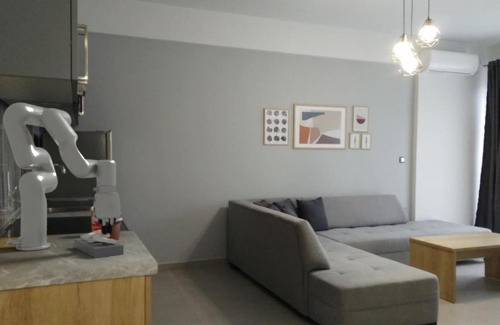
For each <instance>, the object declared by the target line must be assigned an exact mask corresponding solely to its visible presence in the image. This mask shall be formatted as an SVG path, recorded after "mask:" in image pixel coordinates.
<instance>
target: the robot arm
mask: <svg viewBox="0 0 500 325" xmlns="http://www.w3.org/2000/svg"><path fill="white" fill-rule="evenodd" d="M2 124H3V127H4V131H5V134H6V135H7V139H8V142H9V145H10V148H11V153H12V155H13V157H14V161H15V164H16V165H17V167H18V168H20V169H22V170H31V171H28V172H25V173H24V174H23V175H22V176H21V177H20V178H19V182H18V188H19V194H20V236H19V237H18V238H16V239H9V240H7V241H6V245H7V246H15V248H16V250H18V251H24V252H25V251H39V250H40V251H41V250H45V249H48V248H50V247H51V243H50V242H47V236H48V234H47V231H48V228H47V225H48V223H47V222H48V220H47V219H48V203H47V198H46V194H48V193H51V192H53V191H54V190H56V188H57V186H58V183H59V182H58V176H57V172H56V169H55V166H54V164H53V160H52V156H51V155H50V153H49V152H48V151H47V150H46V149H44V148H43V147H40V146H39V147H37V146H36V145H35V142H34V140H33V136H32V134H31V133H30V131H29V129H28V127H27V125H29V126H30V125H31V126H35V127H42V128H45V129H46V131H47V133H49V135H50V136H51V138H52V139H53V141H54V142H55V144H56V145H57V146H58V150H59V151H58V152H59V154H60V157H61V160H62V162H63V163H64V164H65V165H66V167H67V169H68V170H69V172H70V173H71V174H72V175H74V177H76V178H78V179H79V178H80V179H89V178H90V179H91V178H96V187H93V188H92V189H93V191H94V192H96V193H95V194H94V198H93V206H92V207H93V218H92V220H93V221H96V222H98V223H99V224H100V225H101V232H102V234H105V235H107V233H109V234H110V235H111V232H112V225H113V223H114V222H115V221H116V220H118V219H120V218H122V217H121V214H122V212H121V200H120V196H119V192H117V163H116V161H115V160H113V159H100V160H98V159H88V158H87V159H85V158H84V156H83V155H82V154H81V152H80V151H79V149H78V147H77V140H78V138H79V137H78V134H77V133H76V132H75V130H74V129H73V128H72V126H71V125H72V118H71V116H70V114H69V113H68V112H67V111H65V110H63V109H62V110H61V109H57V108H52V107H51V108H50V107H49V108H48V107H43V106H38V105H33V104H30V103H25V102H16V103H12V104H10V105H9V106H8V107H6V110H5V111H4V113H3V117H2ZM97 218H100V219H97ZM105 218H108V224H107V226H106V223H105Z"/></svg>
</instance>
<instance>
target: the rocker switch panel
mask: <svg viewBox="0 0 500 325" xmlns="http://www.w3.org/2000/svg"><path fill="white" fill-rule="evenodd" d="M73 244H74V245H73V247H74V249H76V250H79V251H80V252H82V253H85V254H86V255H88V256H90V257H92V258H94V259H99V258H104V257H113V256H121V255H124V248H125V247H124V244H122V243H119V242H117V243H116V244H114V243H107V242H100V241H95V242H92V243H90V242H88V241H87V240H82V239H81V238H74V243H73Z"/></svg>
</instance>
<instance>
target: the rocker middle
mask: <svg viewBox="0 0 500 325" xmlns="http://www.w3.org/2000/svg"><path fill="white" fill-rule="evenodd" d="M95 237H102V238H108V237H110V234H109V233H107V235H105V234H99V235H95ZM86 240H87V241H88V242H90V243H92V242H95V240H93V236H92V237H89V238H86Z"/></svg>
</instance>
